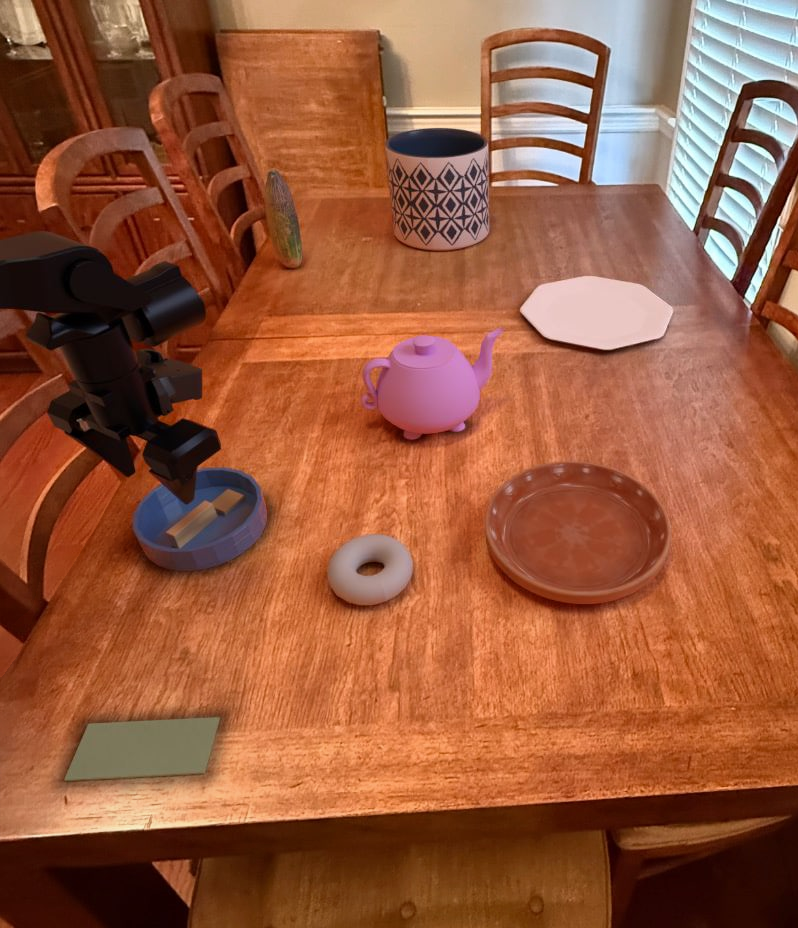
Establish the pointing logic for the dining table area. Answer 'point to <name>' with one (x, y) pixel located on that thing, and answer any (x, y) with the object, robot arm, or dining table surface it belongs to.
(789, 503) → the dining table surface
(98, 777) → the mat
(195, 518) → the beige slabs
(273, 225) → the vegetable
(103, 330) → the robot arm
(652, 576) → the saucer
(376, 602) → the donut
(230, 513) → the bowl
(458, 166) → the planter
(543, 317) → the plate
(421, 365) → the teapot
